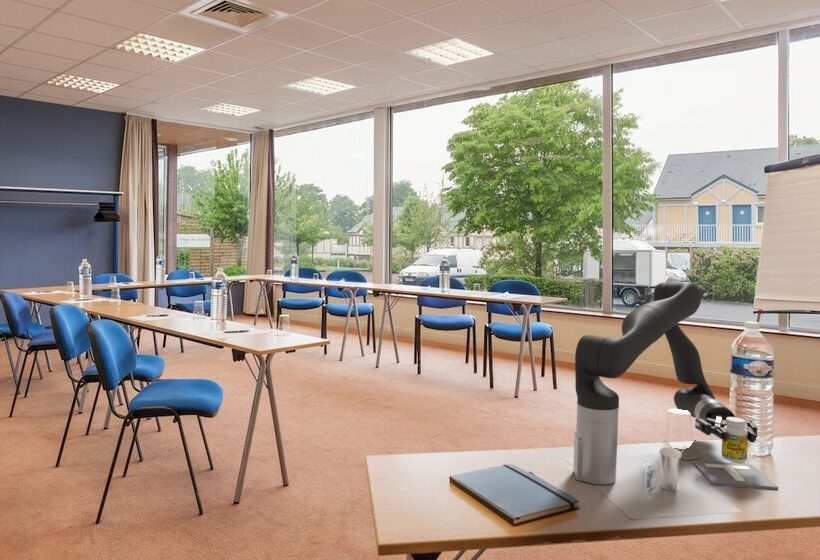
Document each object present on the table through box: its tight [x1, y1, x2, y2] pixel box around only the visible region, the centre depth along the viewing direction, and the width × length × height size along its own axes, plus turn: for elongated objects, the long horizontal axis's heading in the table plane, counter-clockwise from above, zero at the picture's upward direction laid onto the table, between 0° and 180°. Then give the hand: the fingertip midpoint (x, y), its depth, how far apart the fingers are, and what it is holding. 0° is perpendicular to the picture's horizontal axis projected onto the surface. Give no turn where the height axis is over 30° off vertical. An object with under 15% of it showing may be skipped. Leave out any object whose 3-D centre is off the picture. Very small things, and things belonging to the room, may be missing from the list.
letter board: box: [692, 459, 779, 491], centre depth 142 cm, size 14×14×1 cm
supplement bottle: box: [721, 416, 749, 463], centre depth 142 cm, size 5×5×10 cm
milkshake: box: [658, 445, 686, 492], centre depth 133 cm, size 4×5×10 cm
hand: (739, 437), depth 139 cm, fingers closed on supplement bottle, 5 cm apart
